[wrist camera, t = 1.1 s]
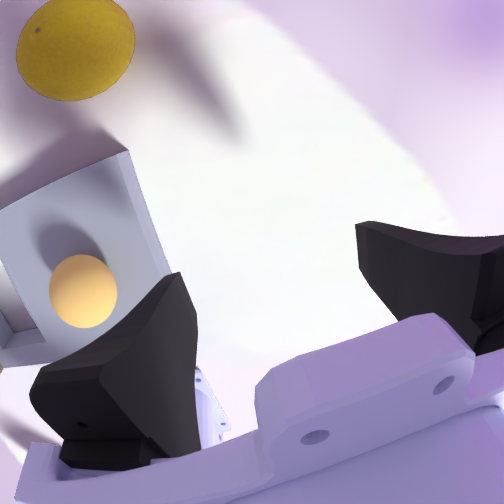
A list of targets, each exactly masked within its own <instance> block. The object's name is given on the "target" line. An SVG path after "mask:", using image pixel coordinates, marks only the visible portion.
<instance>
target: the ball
mask: <svg viewBox="0 0 504 504" xmlns="http://www.w3.org/2000/svg"><path fill="white" fill-rule="evenodd" d="M49 298H50V302H51V305H52V307H53V309H54V311H55V312H56V314H57V315H58V316H59V317H60V318H61V319H62V320H63V321H64V322H66V323H67V324H69V325H71V326H74V327H78V328H90V327H94V326H97V325H99V324H101V323H102V322H103V321H105V320H106V319H107V318H108V317H109V316H110V314H111V313H112V311H113V309H114V307H115V304H116V300H117V286H116V281H115V279H114V276H113V274H112V272H111V271H110V269H109V268H108V267H107V266H106V265H105V264H104V263H103V262H102V261H101V260H99V259H97V258H95V257H93V256H90V255H82V254H80V255H74V256H71V257H68V258H66V259H65V260H63V261H62V262H61V263H60V264H59V265H58V266H57V267H56V268H55V270H54V271H53V274H52V276H51V279H50V283H49Z"/></svg>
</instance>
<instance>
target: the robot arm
mask: <svg viewBox="0 0 504 504" xmlns="http://www.w3.org/2000/svg"><path fill="white" fill-rule="evenodd" d="M355 228H356V238H357V249H358V261H359V269H360V271H361V272H362V274H363V276H364V278H365V279H366V281H367V282H368V284H369V286H370V287H371V288H372V289H373V291H374V292H375V293H376V294H377V295H378V297H379V298H380V299H381V300H382V301H383V303H384V304H385V305H386V306H387V308H388V309H389V310H390V311H391V312H392V314H393V315H394V316H395V317H396V319H397V320H398V321H399V322H396V323H394V324H391V325H389V326H386V327H383V328H381V329H378V330H375V331H373V332H370V333H367V334H364V335H361V336H359V337H356V338H353V339H350V340H347V341H344V342H341V343H338V344H335V345H332V346H328V347H325V348H322V349H319V350H316V351H312V352H309V353H306V354H302V355H299V356H297V357H294V358H292V359H290V360H288V361H286V362H284V363H282V364H280V365H278V366H276V367H273V368H272V369H271V370H270V371H269V372H268V373H267V374H266V375H265V376H264V378H263V379H262V380H261V381H260V382H259V383H258V384H257V385H256V386H255V402H254V404H255V410H256V416H257V422H258V429H256V430H254V431H251V432H249V433H246V434H244V435H241V436H239V437H236V438H234V439H231V440H228V441H226V442H223V434H222V432H224V431H229V430H231V429H232V428H231V424H230V422H229V421H228V419H227V417H226V415H225V414H224V412H223V410H222V408H221V407H220V405H219V403H218V401H217V400H216V398H215V396H214V394H213V392H212V390H211V389H210V387H209V385H208V383H207V381H206V379H205V377H204V376H203V374H202V372H201V371H200V370H195V367H196V353H197V340H198V326H197V313H196V310H195V308H194V306H193V303H192V301H191V298H190V296H189V293H188V291H187V288H186V286H185V283H184V281H183V278H182V276H181V273H180V272H176V273H173V274H169V275H166V276H164V277H163V278H162V279H161V280H160V281H159V282H158V283H157V284H156V285H155V286H154V287H153V288H152V289H151V290H150V291H149V292H148V294H147V295H146V296H145V297H144V298H143V299H142V300H141V301H140V302H139V303H138V304H137V305H136V306H135V307H134V308H133V309H132V310H131V311H130V312H129V313H128V314H127V315H126V316H125V317H124V318H123V319H122V320H120V321H119V322H118V323H117V324H116V325H114V326H113V327H112V328H111V329H110V330H108V331H107V332H106V333H104V334H103V335H101V336H100V337H98V338H97V339H95V340H94V341H93V342H91V343H90V344H88V345H86V346H85V347H83V348H81V349H80V350H78V351H76V352H74V353H72V354H70V355H68V356H66V357H64V358H62V359H60V360H58V361H55V362H53V363H51V364H49V365H46V366H44V367H42V368H41V369H40V371H39V373H38V375H37V377H36V379H35V381H34V383H33V385H32V387H31V389H30V393H29V397H30V402H31V404H32V405H33V407H34V409H35V411H36V412H37V413H38V414H39V416H40V417H41V418H42V419H43V420H44V421H45V422H46V423H47V424H48V425H49V426H50V427H51V428H52V429H53V430H54V431H55V432H56V433H57V434H58V435H59V436H61V437H62V438H63V439H64V442H63V445H62V447H60V446H58V445H56V444H52V443H42V442H31V444H30V447H29V450H28V453H27V456H26V459H25V462H24V465H23V469H22V472H21V475H20V479H19V482H18V486H17V490H16V493H15V497H14V498H15V500H16V501H17V502H19V503H21V504H504V235H499V236H487V237H486V236H485V237H462V236H448V235H439V234H432V233H427V232H421V231H416V230H412V229H407V228H403V227H399V226H395V225H390V224H386V223H381V222H376V221H366V222H362V223H359V224H355ZM197 378H199V379H197Z"/></svg>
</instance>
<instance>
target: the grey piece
mask: <svg viewBox="0 0 504 504" xmlns="http://www.w3.org/2000/svg"><path fill="white" fill-rule="evenodd" d="M80 254H82V255H90V256H93V257H95V258H97V259H99V260H101V261H102V262H103V263H104V264H105V265H106V266H107V267H108V268H109V269H110V271H111V272H112V274H113V276H114V279H115V281H116V286H117V300H116V304H115V307H114V309H113V311H112V313H111V314H110V316H109V317H108V318H107V319H106V320H105V321H103V322H102V323H101V324H99V325H97V326H94V327H90V328H78V327H74V326H71V325H69V324H67V323H66V322H64V321H63V320H62V319H61V318H60V317H59V316H58V315H57V314H56V312H55V311H54V309H53V307H52V305H51V302H50V298H49V283H50V279H51V276H52V274H53V271H54V270H55V268H56V267H57V266H58V265H59V264H60V263H61V262H62V261H63V260H65V259H66V258H68V257H71V256H74V255H80ZM0 259H1V261H2V263H3V266H4V268H5V270H6V272H7V274H8V276H9V278H10V280H11V282H12V284H13V286H14V287H15V289H16V291H17V293H18V295H19V297H20V299H21V300H22V302H23V304H24V306H25V307H26V309H27V311H28V313H29V314H30V316H31V318H32V319H33V321H34V322H35V324H36V326H37V327H38V328H34V329H30V330H25V331H21V332H16V333H14V332H13V330H12V329H11V327H10V325H9V324H8V322H7V321H6V319H5V317H4V316H3V314H2V312H1V311H0V373H1V372H2V370H3V368H8V367H18V366H27V365H35V364H43V363H51V362H55V361H58V360H60V359H62V358H64V357H66V356H68V355H70V354H72V353H74V352H76V351H78V350H80V349H81V348H83V347H85V346H86V345H88V344H90V343H91V342H93V341H94V340H95V339H97V338H98V337H100V336H101V335H103V334H104V333H106V332H107V331H108V330H110V329H111V328H112V327H113V326H114V325H116V324H117V323H118V322H119V321H120V320H122V319H123V318H124V317H125V316H126V315H127V314H128V313H129V312H130V311H131V310H132V309H133V308H134V307H135V306H136V305H137V304H138V303H139V302H140V301H141V300H142V299H143V298H144V297H145V296H146V295H147V294H148V292H149V291H150V290H151V289H152V288H153V287H154V286H155V285H156V284H157V283H158V282H159V281H160V280H161V279H162V278H163V277H164V276H166V275H169V274H172V273H171V270H170V267H169V265H168V262H167V260H166V257H165V255H164V252H163V250H162V247H161V244H160V242H159V239H158V236H157V234H156V231H155V228H154V225H153V223H152V220H151V217H150V214H149V211H148V209H147V206H146V203H145V200H144V197H143V194H142V191H141V188H140V185H139V182H138V179H137V176H136V173H135V170H134V167H133V163H132V160H131V157H130V154H129V150H127V151H124V152H121V153H119V154H116V155H113V156H111V157H108V158H106V159H103V160H101V161H98V162H96V163H94V164H91V165H89V166H87V167H84V168H82V169H80V170H78V171H75V172H73V173H71V174H69V175H67V176H64V177H62V178H60V179H58V180H56V181H54V182H52V183H50V184H48V185H46V186H44V187H42V188H40V189H38V190H36V191H34V192H32V193H30V194H28V195H26V196H24V197H23V198H21V199H19V200H17V201H15V202H13V203H12V204H10V205H8V206H6V207H5V208H3V209H1V210H0Z"/></svg>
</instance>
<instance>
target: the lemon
mask: <svg viewBox="0 0 504 504" xmlns="http://www.w3.org/2000/svg"><path fill="white" fill-rule="evenodd" d="M134 45H135V35H134V29H133V24H132V22H131V21H130V19H129V17H128V15H127V13H126V12H125V11H124V10H123V9H122V8H121V7H120V6H119V5H118V4H116V3H115V2H114V1H113V0H51V1H49V2H47V3H46V4H45V5H43V6H42V7H41V8H39V9H38V10H37V11H36V12H35V13H34V15H33V16H32V17H31V18H30V19H29V21H28V22H27V23H26V25H25V26H24V28H23V30H22V33H21V35H20V37H19V41H18V45H17V49H16V61H17V65H18V69H19V73H20V74H21V76H22V78H23V79H24V81H25V82H26V84H28V85H29V86H30V87H31V88H32V89H34V90H35V91H36V92H38V93H39V94H41V95H43V96H46V97H49V98H52V99H54V100H58V101H78V100H82V99H87V98H91V97H93V96H95V95H97V94H99V93H101V92H104V91H105V90H107V89H108V88H109V87H110V86H112V85H113V84H114V83H116V81H117V80H118V79H119V78H120V77H121V76H122V75H123V74H124V72H125V70H126V69H127V67H128V65H129V64H130V61H131V58H132V55H133V53H134Z"/></svg>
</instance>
